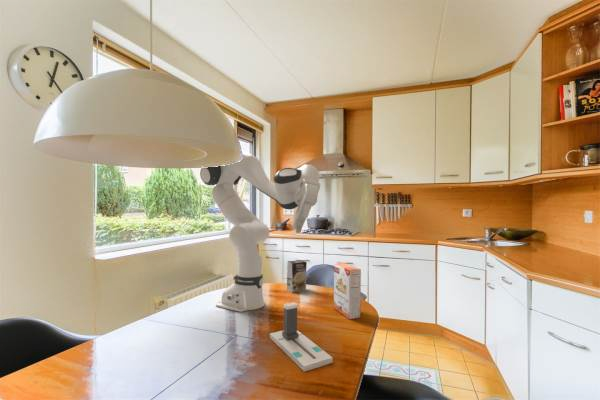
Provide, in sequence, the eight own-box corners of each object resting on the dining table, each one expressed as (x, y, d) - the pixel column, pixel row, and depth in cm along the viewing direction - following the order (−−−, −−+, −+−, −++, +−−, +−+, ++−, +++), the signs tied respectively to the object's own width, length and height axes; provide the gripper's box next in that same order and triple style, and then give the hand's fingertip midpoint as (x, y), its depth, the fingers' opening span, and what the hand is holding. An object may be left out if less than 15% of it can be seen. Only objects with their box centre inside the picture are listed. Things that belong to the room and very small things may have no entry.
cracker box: (332, 308, 133) (333, 263, 134) (344, 307, 135) (344, 262, 136) (348, 320, 120) (349, 269, 120) (361, 318, 122) (361, 268, 123)
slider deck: (269, 337, 103) (269, 333, 103) (294, 331, 108) (294, 327, 108) (304, 371, 82) (304, 366, 82) (332, 362, 87) (332, 357, 87)
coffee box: (292, 293, 156) (292, 263, 156) (286, 290, 162) (286, 261, 162) (306, 290, 161) (306, 261, 161) (300, 287, 166) (300, 259, 167)
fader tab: (281, 335, 101) (282, 303, 101) (293, 332, 103) (293, 301, 104) (287, 340, 98) (287, 307, 98) (298, 337, 100) (298, 305, 100)
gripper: (291, 211, 118) (286, 238, 108) (305, 175, 103) (300, 203, 93) (306, 215, 118) (302, 243, 109) (322, 180, 104) (319, 208, 94)
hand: (301, 224), depth 101 cm, fingers open, 8 cm apart
